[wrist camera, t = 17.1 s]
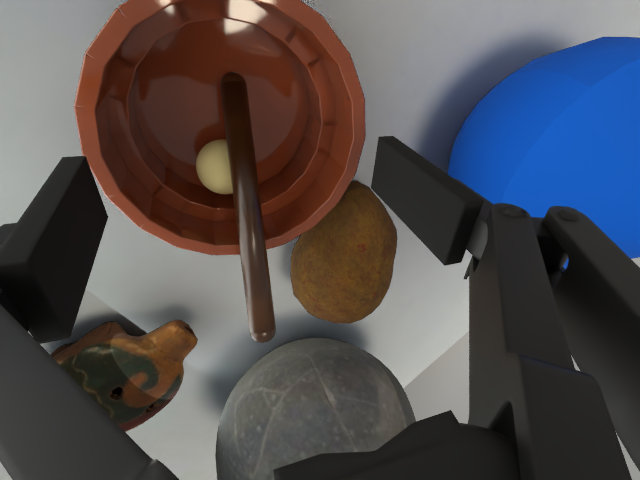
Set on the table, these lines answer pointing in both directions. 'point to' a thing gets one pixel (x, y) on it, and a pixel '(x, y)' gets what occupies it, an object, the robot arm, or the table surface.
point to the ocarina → (129, 368)
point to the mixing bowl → (219, 115)
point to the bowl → (308, 408)
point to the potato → (346, 258)
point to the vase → (562, 138)
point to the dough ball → (215, 167)
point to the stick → (247, 206)
